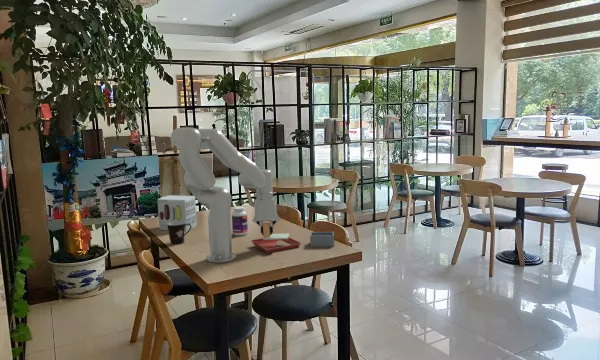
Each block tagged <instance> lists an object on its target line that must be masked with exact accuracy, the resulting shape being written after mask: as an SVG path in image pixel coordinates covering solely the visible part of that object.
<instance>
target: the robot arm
mask: <svg viewBox="0 0 600 360" xmlns="http://www.w3.org/2000/svg"><path fill="white" fill-rule="evenodd" d="M170 141H171V143H172V145H173V146H175V147H176V148H179V152H178V160H179V163H180V165H181V167H182V169H183V170H184V171H185V172H184V176H183V180H184V183H185V186H186V187H187V189H188V191H189V192H190V193H191V194H192V196H195V200H197V201H198V203H200V205H202V206H204V207H207V208H209V213H208V217H207V222H208V238H209V239H208V240H209V241H208V242H209V255H207V256H206V260H207V262H210V263H227V262H231V261H234V260H235V259H236V258H237V255H236V253H234V252H233V243H232V241H233V240H232V239H233V238H232V219H231V210H232V209H231V208H232V200H233V199H232V194H231V193H230V191H229V190H228V189H227V188H224V187H221V186H215V185H216V182H217V181H216V176H215V175H214V173H213V171H212V170H211V168H209V166H208V164H206V162H205V161H204V158H202V156H201V154H200V149H209V150H210V151H211V152H212V154H214V155H215V157H216V158H217V159H218V161H220V162H221V163H222V165H224V166H225V167H227V168H229V169H231V170H232V171H233V170H234V171H235V172H237V173H239V175H238V179H237V181H238V183H239V185H240V186H241V187H244V188H247V189H255V190H256V193H254V194H253V198H256V199H255V200H254V216H253V219H252V222H253V223H255V224H257V225H258V226H259V228H260V234H261V236H264V234H263V223H264V222H270V235H272V234H274V226H275V225H276V224H277V223H278V222H280V221H281V218H280V216H279V214H278V209H277V204H276V203H277V202H276V200H275V198H274V189H273V188H274V187H273V173H272V170H270V169H260V168H259V167H258V165H256V164H255V162H253V161H252V160H251V159H249V158H247V156H245V155H244V154H243V153H241V152H240V151H239V150H237V148H236V146H234V145H233V144H232V142H230V140H229V139H228V138H227V137H226V136H225V135H224V133H223V132H221V130H219V129H217V128H195V127H189V126H188V127H178V128H177V127H176V128H175V129H174V130H173V131H172V132H171V133H170Z"/></svg>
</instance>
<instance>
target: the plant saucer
mask: <svg viewBox="0 0 600 360" xmlns="http://www.w3.org/2000/svg"><path fill="white" fill-rule="evenodd" d="M278 241H279V242H280V241H284V242H286V243H289V244H288V245H283V246H277V247H276V245H277V244H278V243H277V242H278ZM250 242H251V243H252V244H253V246H255V247H256V248H258V249H259V250H261V251H263V252H265V253H267V255H268V254H272V253H273V252H279V251H284V250H290V249H294V248H298V247H299V246H300V245H301V244H302V242H300V241H298V240H295V239H293V238H291V237H290V236H289V237H288V239H271V240H263V237H262V238H258V239H257V238H256V239H251V241H250Z"/></svg>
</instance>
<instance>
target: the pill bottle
mask: <svg viewBox="0 0 600 360" xmlns="http://www.w3.org/2000/svg"><path fill="white" fill-rule="evenodd" d="M231 231H232V235H233V236H245V235H248V233H249V230H248V213H247V212H246V211H245V207H244V206H235V207H233V212H232V213H231Z"/></svg>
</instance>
